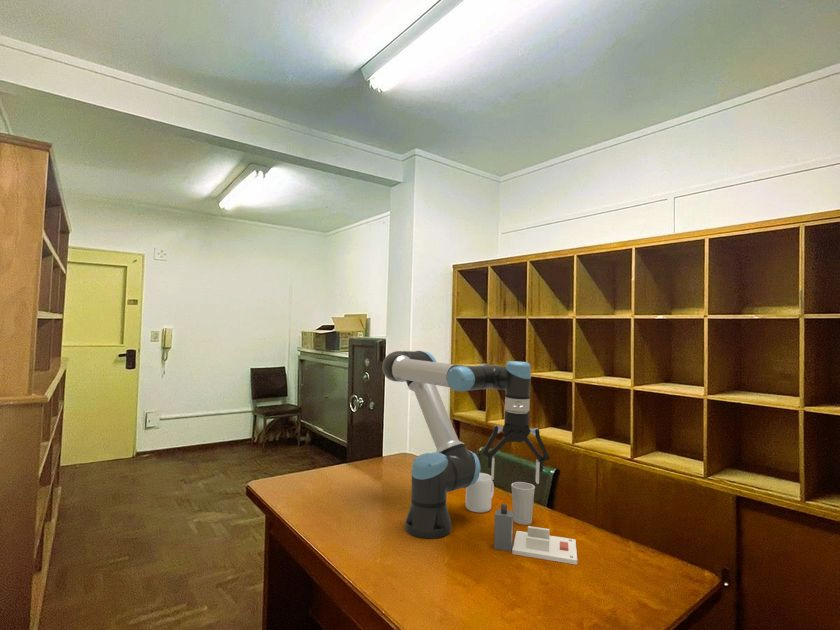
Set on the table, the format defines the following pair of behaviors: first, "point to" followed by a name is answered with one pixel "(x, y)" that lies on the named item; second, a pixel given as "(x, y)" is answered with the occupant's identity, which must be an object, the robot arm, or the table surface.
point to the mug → (480, 494)
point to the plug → (503, 529)
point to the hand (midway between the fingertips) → (514, 480)
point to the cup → (522, 502)
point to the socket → (544, 546)
